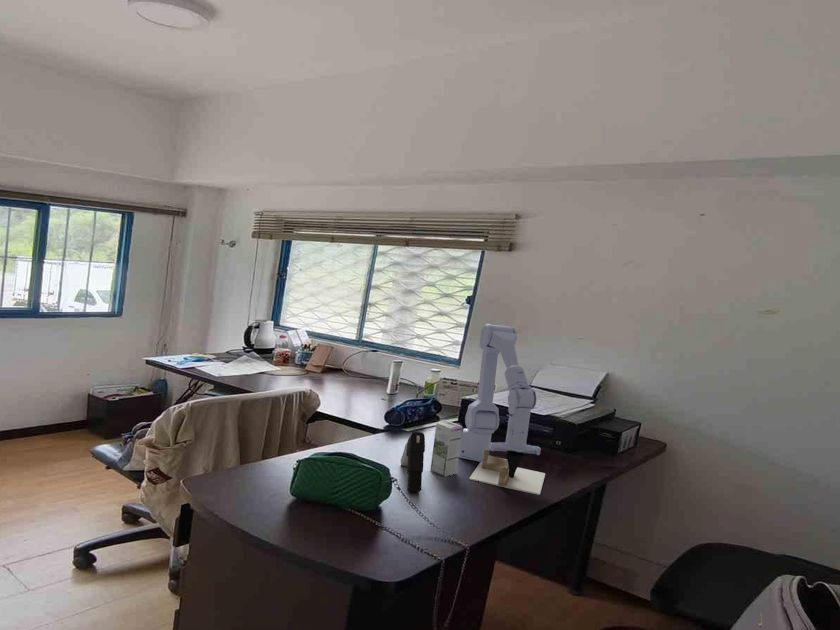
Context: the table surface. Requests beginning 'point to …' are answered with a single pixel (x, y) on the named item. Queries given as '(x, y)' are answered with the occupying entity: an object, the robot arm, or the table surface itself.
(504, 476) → the beige long t-shaped piece
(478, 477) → the mat
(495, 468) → the fixed fence section
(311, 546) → the table surface
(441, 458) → the syrup box
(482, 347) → the robot arm
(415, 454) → the handheld device
